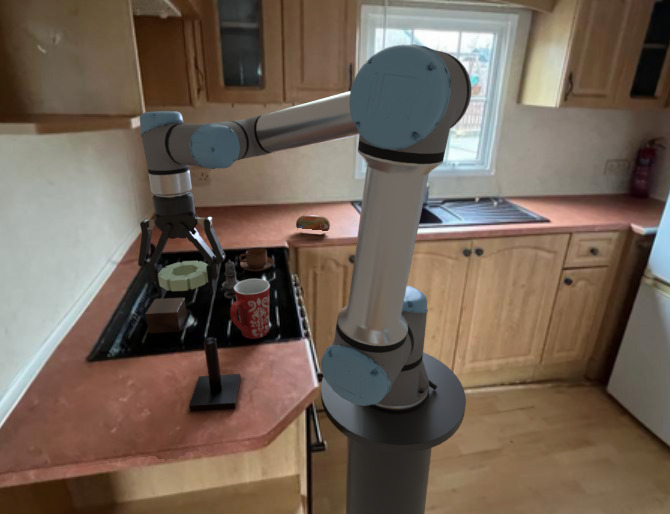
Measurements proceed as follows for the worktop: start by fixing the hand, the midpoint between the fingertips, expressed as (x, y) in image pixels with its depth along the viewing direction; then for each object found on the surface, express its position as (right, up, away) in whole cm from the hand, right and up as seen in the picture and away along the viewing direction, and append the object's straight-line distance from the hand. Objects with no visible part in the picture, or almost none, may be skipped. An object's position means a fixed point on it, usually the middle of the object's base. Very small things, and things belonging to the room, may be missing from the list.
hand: (187, 293), depth 89 cm
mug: (+10, -14, +19) cm, 25 cm away
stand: (+7, -21, -2) cm, 22 cm away
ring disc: (0, +3, -1) cm, 3 cm away
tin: (+22, +14, +92) cm, 96 cm away
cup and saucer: (+4, +2, +59) cm, 59 cm away
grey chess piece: (0, -6, +40) cm, 40 cm away
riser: (-14, -12, +24) cm, 30 cm away
